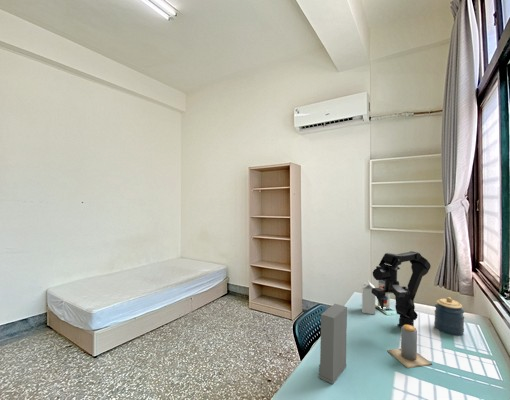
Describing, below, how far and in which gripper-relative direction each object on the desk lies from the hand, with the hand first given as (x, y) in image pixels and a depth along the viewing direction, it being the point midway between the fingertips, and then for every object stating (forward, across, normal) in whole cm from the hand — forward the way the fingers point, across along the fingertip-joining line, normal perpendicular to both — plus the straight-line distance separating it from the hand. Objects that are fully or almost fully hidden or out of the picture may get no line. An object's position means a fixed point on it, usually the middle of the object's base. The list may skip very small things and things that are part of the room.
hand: (390, 307), depth 138 cm
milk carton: (+13, +5, +25) cm, 29 cm away
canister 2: (+13, +34, -3) cm, 37 cm away
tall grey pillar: (+14, -45, -23) cm, 52 cm away
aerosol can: (+13, +18, +28) cm, 36 cm away
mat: (+13, -7, -21) cm, 25 cm away
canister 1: (+12, -7, -21) cm, 25 cm away
